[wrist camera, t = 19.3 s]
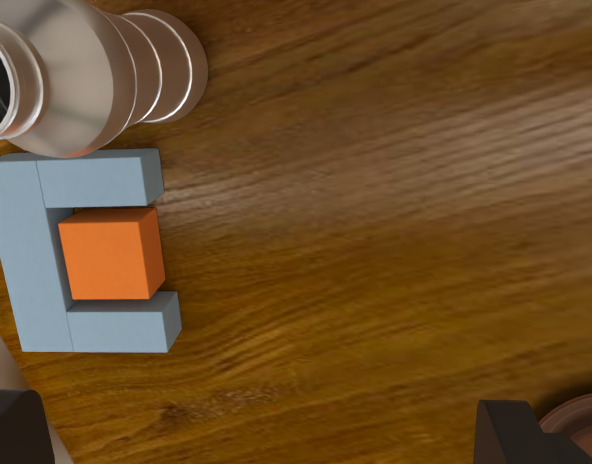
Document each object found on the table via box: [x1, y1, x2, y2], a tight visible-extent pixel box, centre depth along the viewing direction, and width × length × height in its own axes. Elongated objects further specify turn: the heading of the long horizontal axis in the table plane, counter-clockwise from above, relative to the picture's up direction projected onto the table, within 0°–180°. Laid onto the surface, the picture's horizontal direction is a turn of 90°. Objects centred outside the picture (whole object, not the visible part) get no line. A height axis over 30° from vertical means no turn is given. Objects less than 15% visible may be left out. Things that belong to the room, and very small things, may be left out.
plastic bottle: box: [0, 0, 208, 158], centre depth 26 cm, size 6×7×20 cm
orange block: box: [58, 208, 166, 299], centre depth 38 cm, size 6×6×4 cm
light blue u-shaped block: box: [0, 148, 182, 352], centre depth 38 cm, size 14×11×4 cm
